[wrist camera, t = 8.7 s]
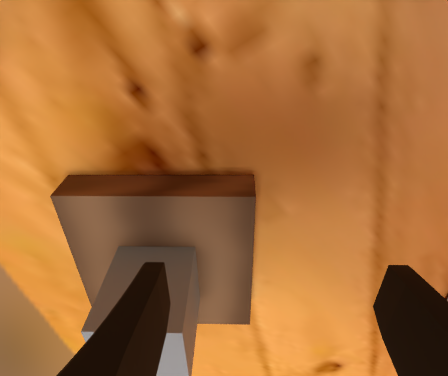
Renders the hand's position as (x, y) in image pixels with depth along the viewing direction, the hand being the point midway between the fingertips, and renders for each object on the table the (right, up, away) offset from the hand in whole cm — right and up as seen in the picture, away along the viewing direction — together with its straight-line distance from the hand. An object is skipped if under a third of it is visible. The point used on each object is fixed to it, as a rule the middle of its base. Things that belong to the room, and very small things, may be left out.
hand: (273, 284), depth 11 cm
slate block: (-6, -3, +11) cm, 13 cm away
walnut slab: (-6, -1, +14) cm, 15 cm away
